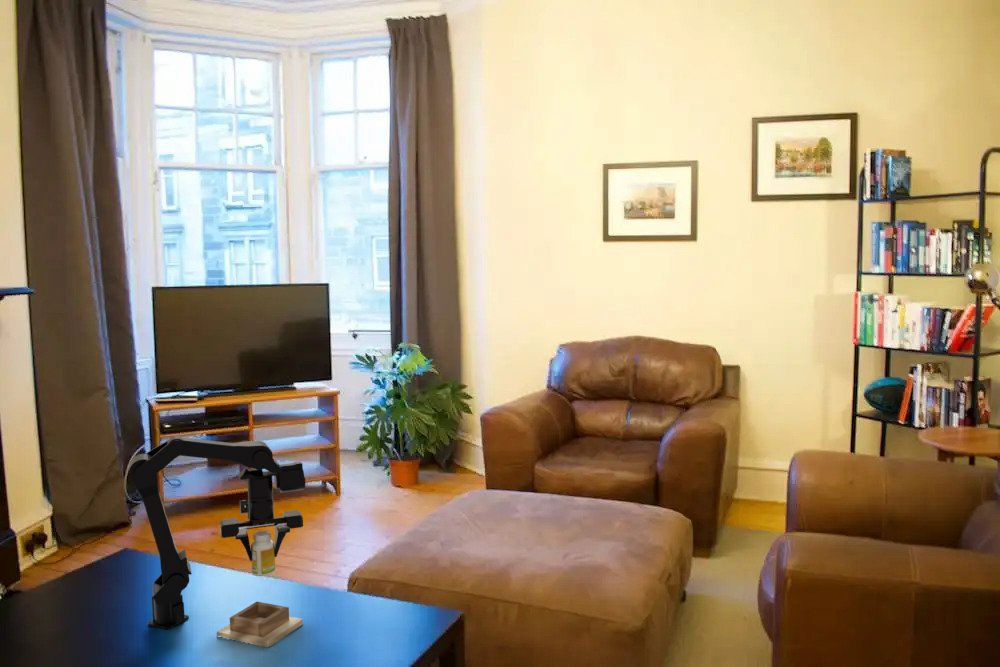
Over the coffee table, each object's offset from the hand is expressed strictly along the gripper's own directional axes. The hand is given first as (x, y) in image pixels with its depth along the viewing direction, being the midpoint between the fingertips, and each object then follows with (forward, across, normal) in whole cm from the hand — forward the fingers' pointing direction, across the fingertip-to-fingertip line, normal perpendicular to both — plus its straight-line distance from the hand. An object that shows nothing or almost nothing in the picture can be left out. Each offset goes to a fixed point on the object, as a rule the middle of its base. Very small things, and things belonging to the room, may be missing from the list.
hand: (263, 558), depth 193 cm
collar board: (+11, +3, +14) cm, 18 cm away
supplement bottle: (+4, 0, 0) cm, 4 cm away
